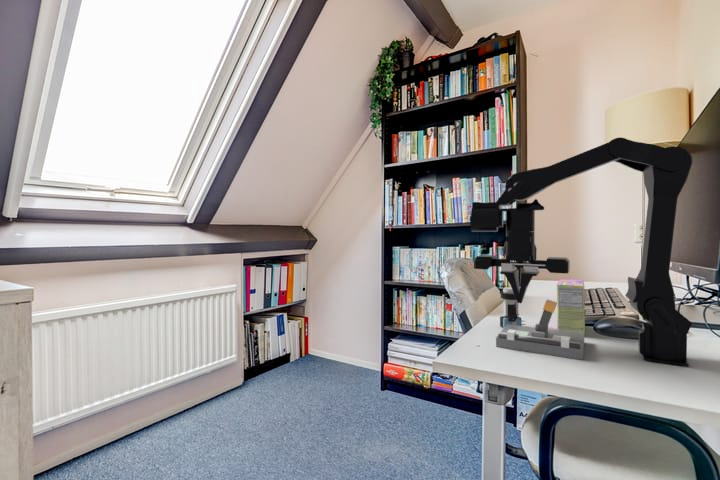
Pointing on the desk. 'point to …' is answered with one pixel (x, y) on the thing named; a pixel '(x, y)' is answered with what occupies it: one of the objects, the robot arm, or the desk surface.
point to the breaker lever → (546, 315)
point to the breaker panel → (542, 341)
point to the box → (570, 306)
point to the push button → (510, 308)
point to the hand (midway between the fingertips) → (519, 302)
